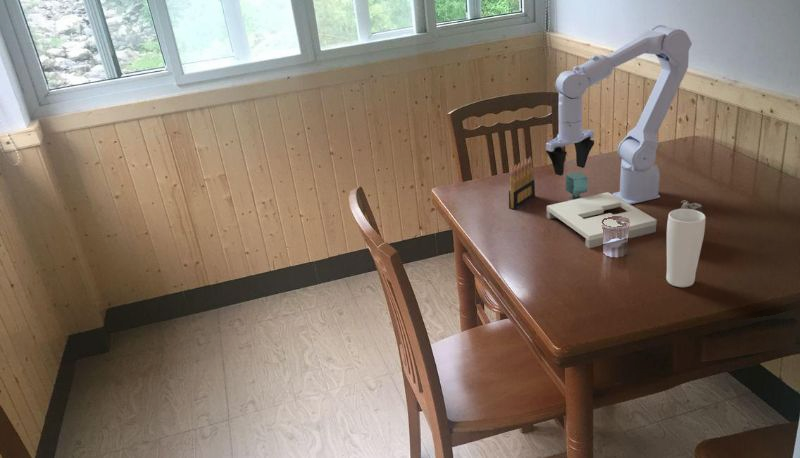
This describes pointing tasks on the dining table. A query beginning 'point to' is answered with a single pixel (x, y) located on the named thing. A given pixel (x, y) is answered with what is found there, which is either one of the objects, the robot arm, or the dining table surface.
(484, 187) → the dining table surface
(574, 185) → the peg
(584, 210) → the keyhole plate
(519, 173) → the ammunition clip
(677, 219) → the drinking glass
